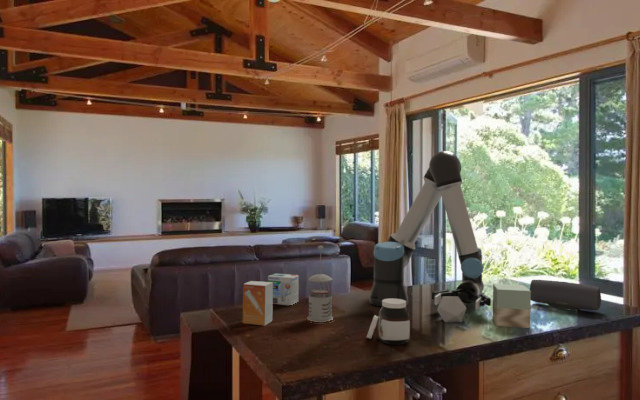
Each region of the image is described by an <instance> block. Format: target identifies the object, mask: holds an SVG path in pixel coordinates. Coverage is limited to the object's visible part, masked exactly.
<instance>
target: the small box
mask: <svg viewBox="0 0 640 400" xmlns="http://www.w3.org/2000/svg"><path fill="white" fill-rule="evenodd" d="M273 305H274V304H273V282H268V281H256V280H249V281H247V282H245V283H243V284H242V324H247V325H255V326H256V325H257V326H264V327H265V326H266V325H269V324H270V323H271V322H273V312H274V311H273V309H274V308H273V307H274V306H273Z"/></svg>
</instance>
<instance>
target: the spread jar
mask: <svg viewBox="0 0 640 400" xmlns="http://www.w3.org/2000/svg"><path fill="white" fill-rule="evenodd" d="M382 306H383V307H381V308H380V309H379V312H378V315H375V314H374V315H373V317H372V321H371V322H370V326H369V329H368V331H367V334H366V338H367V339H370V340H372V337H373V334H374V332H375V329H376V327H377V323H378V334H379V335H378V336H379V339H380V341H381V342H382V343H384V344H386V345H391V346H399V345H405V344H406V343H407V342H409V340H410V336H411V334H410V333H411V332H410V330H411V321H410V320H411V319H410V313H409V311H408V310H407V306H406V301H405V300H402V299H394V298H390V299H384V300H382Z"/></svg>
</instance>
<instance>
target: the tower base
mask: <svg viewBox="0 0 640 400" xmlns="http://www.w3.org/2000/svg"><path fill="white" fill-rule="evenodd" d="M492 319H493V321H494V323H495V325H496V326H498V327H510V328H511V327H512V328H525V329H526V328H527V329H530V328H531V309H530V310H525V309H509V308H497V307H496V305H495V303H494V302H493V301H492Z"/></svg>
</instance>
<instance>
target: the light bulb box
mask: <svg viewBox="0 0 640 400" xmlns="http://www.w3.org/2000/svg"><path fill="white" fill-rule="evenodd" d="M299 280H300V279H299V275H298V274H287V273H273V274H270V275H268V276H267V282H273V305H274V304H275V305H282V306H289V305H292V306H294V305H296V304H297V302H298V303H299V287H300V286H299ZM295 303H296V304H295ZM293 304H294V305H293Z"/></svg>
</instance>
